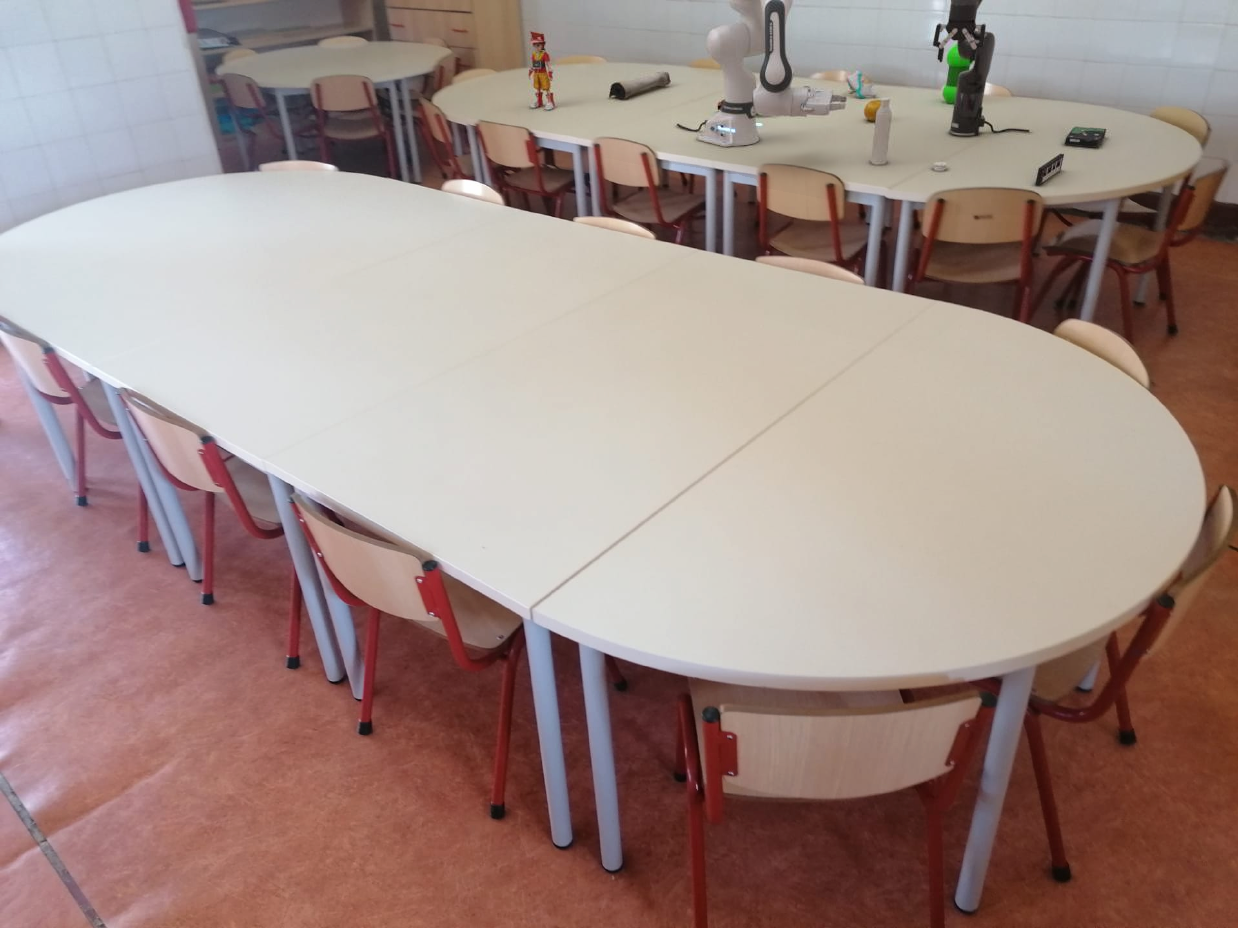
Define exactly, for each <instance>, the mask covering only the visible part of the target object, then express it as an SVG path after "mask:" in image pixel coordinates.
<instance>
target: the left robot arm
mask: <svg viewBox="0 0 1238 928" xmlns="http://www.w3.org/2000/svg"><path fill="white" fill-rule="evenodd" d="M727 2H728V4H729V6H730V8H732V10H733V11H736V12H737V13H739V15H740V21H739V22H738V23H730V24H722V25H720V26H718V27H715V28H713V29H711V30H710V31H709V32H708V34H707V36H706V40H705V41H706V42H705V44H706V45H705V47H706V51H707V53H708V56H710V58H711V59H712V60H713V61H715V62H716V63H717V64H718V66H719V68H720V69H721V72H722V75H723V83H724V87H723V88H724V99H722V100H721V101H719V102H718V103H720V104H719V105H718V104H717V107H718V106H720V105H721V108H720V110H717V112H716V113H715V114H713V115H712V116H711V117H709V118H708V119H706V120H704V121H703V122H701V123H700V125H699V127H698V128H695V129H692V128H690V127H687V126H683V125H681V124H680V123H676V126H677V127H678V128H680V129H682V130H686V131H688V132H689V131H690V132H700V131H701V129H702V126H704V129H703V130H704V131H703V132H702V133H700V134H699V135H698V137H697V140H698V141H700V142H704V143H708V144H712V145H717V146H721V147H725V148H728V147H733V146H734V147H735V146H738V147H739V146H747V145H748V146H749V145H753V144H756V143H758V142H760V141H759V140H760V137H759V134H758V127H757V126H759V127H760V126H763V123H758V122H757V115H760V116H763V117H765V116H766V117H782V116H788V117H796V118H797V117H798V118H799V117H800V118H801V117H803V118H805V117H808V116H822V117H823V116H828V115H830V112H833V111H834V112H835V111H838V110H845V109H846V102H847V101H848V99H847V98H848V96H847V95H841V94H837V93H834V90H833V89H830V88H821V87H811V86H810V85H804V86H801V87H793V86H792V84H793V83H792V81H793V79H794V77H795V66H794V63H793V62H792V60H790V58H788V57H787V53H786V49H787V48H786V45H787V44H786V43H787V42H786V26H787V19H788V16H789V13H790V11H791V9H792V6H793V3H794V0H727ZM761 55H764V59H763V63H762V64H761V68H760V71H759V81H758V83H757V76H756V74H755V73H754V72H753V71H752V70H751V69H749V68H747V67H746V66H745V63H744V58H749V57H756V56H761ZM756 113H757V114H756Z"/></svg>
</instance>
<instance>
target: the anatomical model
mask: <svg viewBox="0 0 1238 928" xmlns="http://www.w3.org/2000/svg"><path fill="white" fill-rule="evenodd" d="M862 77H863V74H862V72H860V71H859V70H858V69H856V70H854V72H853V74H851V75H848V76H846V82H847V85H848V86H849V90H850V91H853V92H856V94H857V96H858V97H859V98H860V99H866V97H876V96H877V95H878V93H877V92H873V91H872V88H873V86H874V85H875V83H873V82H871V83H869V84H867V85H864V82H865V81H866V77H864V78H862Z"/></svg>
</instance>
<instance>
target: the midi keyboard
mask: <svg viewBox="0 0 1238 928" xmlns="http://www.w3.org/2000/svg"><path fill="white" fill-rule="evenodd" d="M1064 157H1065V153H1059V154H1058V155H1056V156H1055V157H1052V159H1051V160H1049V161H1047V162H1045V164H1042V165H1041V166H1039V167H1038V169H1037V175H1036V179H1035V186H1040V185H1042V183H1044V182H1045V181H1047V180H1048V179H1049V178H1051V177H1052V176H1054V175H1055V174H1056V173H1058V172H1060V171H1061V170H1062V165H1063V161H1064Z"/></svg>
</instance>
